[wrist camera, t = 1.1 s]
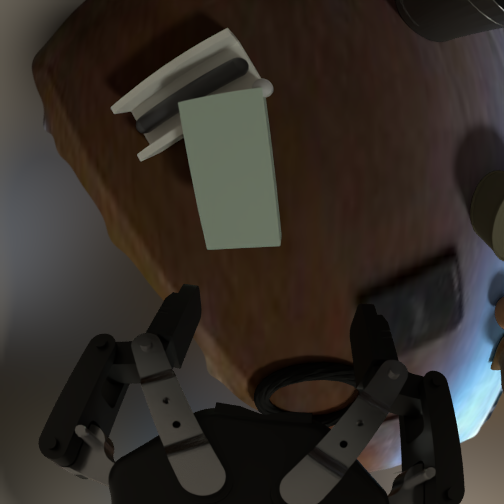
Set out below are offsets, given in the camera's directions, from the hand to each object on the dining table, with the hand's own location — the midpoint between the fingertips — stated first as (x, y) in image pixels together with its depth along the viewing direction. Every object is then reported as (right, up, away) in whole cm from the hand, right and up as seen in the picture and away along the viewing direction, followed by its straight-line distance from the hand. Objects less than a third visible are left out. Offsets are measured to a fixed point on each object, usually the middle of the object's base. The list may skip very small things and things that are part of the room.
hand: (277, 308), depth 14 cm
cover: (-3, +12, +14) cm, 19 cm away
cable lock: (+13, -30, +44) cm, 55 cm away
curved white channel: (-8, +22, +16) cm, 28 cm away
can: (+36, +10, +16) cm, 41 cm away
